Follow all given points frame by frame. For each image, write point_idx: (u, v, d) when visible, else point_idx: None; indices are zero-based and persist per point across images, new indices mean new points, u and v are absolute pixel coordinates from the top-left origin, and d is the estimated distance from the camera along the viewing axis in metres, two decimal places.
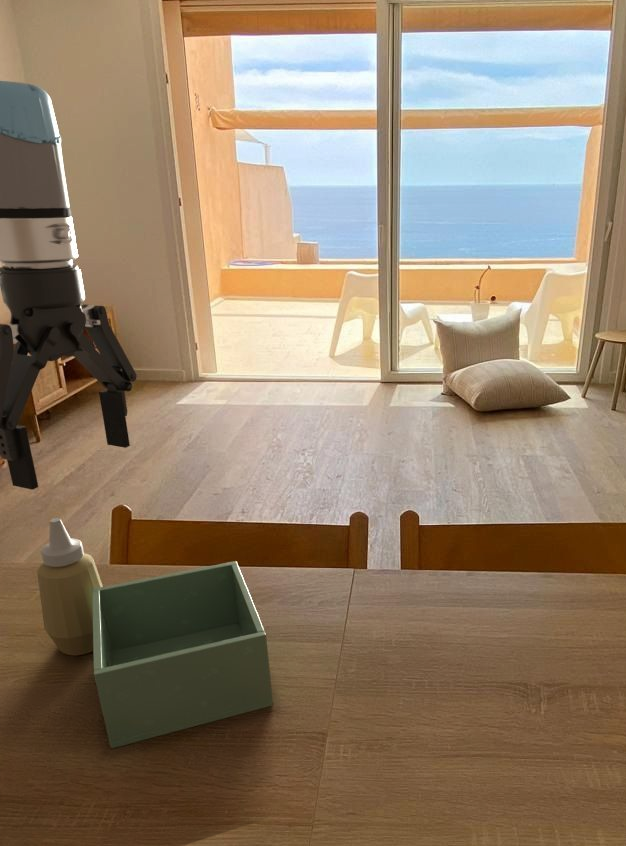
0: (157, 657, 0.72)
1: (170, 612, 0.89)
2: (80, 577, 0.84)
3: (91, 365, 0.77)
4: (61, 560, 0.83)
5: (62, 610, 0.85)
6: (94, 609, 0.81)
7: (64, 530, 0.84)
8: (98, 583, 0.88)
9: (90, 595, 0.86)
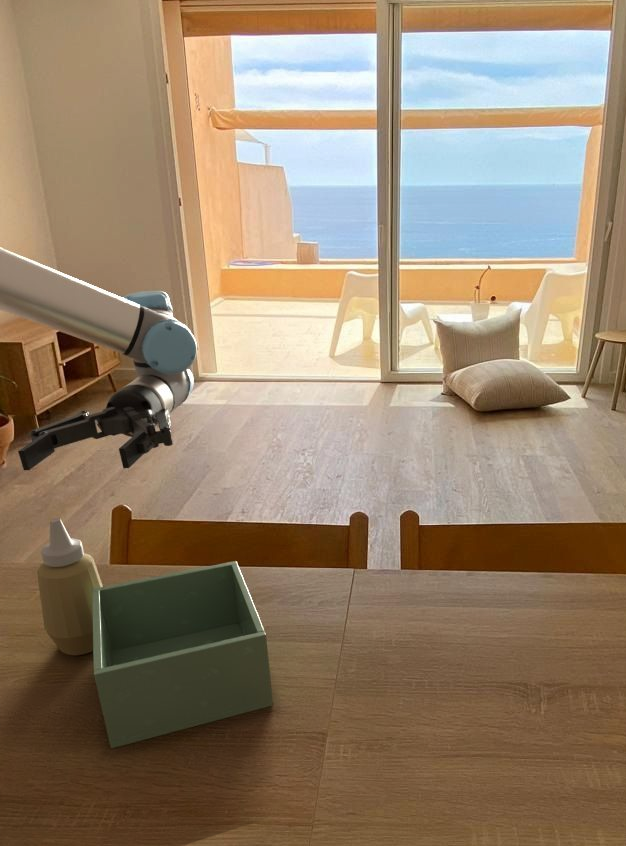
0: (157, 657, 0.72)
1: (170, 612, 0.89)
2: (80, 577, 0.84)
3: (79, 434, 0.99)
4: (61, 560, 0.83)
5: (62, 610, 0.85)
6: (94, 609, 0.81)
7: (64, 530, 0.84)
8: (98, 583, 0.88)
9: (90, 595, 0.86)
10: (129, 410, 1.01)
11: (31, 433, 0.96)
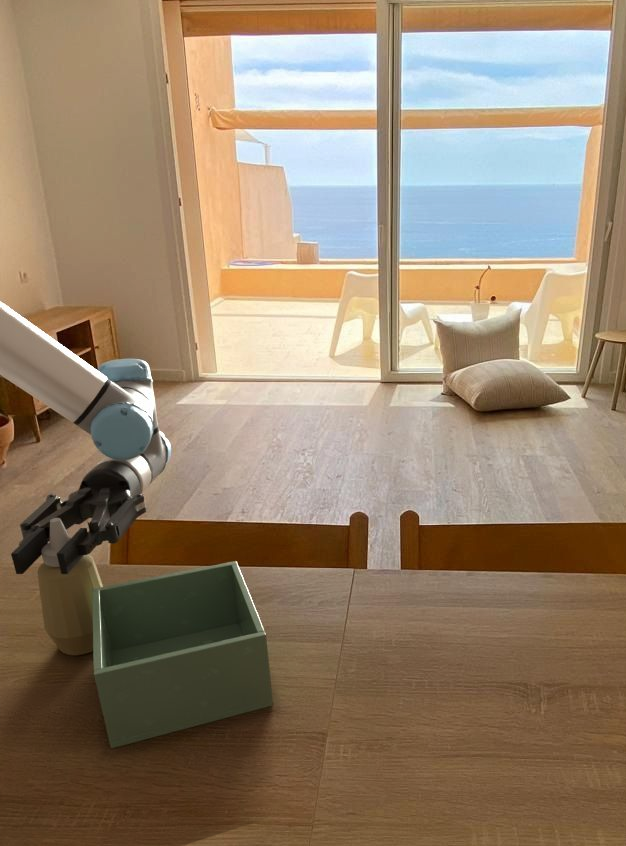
0: (157, 657, 0.72)
1: (170, 612, 0.89)
2: (80, 577, 0.84)
3: (66, 522, 0.90)
4: None
5: (63, 610, 0.85)
6: (94, 609, 0.81)
7: (65, 530, 0.84)
8: (98, 583, 0.88)
9: (90, 595, 0.86)
10: (103, 493, 0.94)
11: (24, 527, 0.86)
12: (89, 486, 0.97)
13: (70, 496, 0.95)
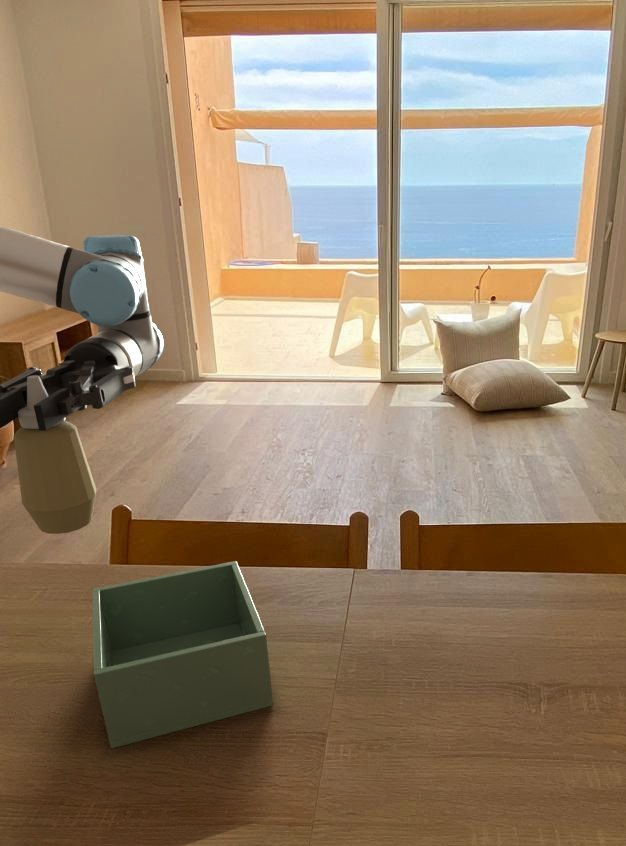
0: (157, 657, 0.72)
1: (170, 612, 0.89)
2: (61, 442, 0.77)
3: (47, 391, 0.82)
4: None
5: (41, 479, 0.77)
6: (94, 609, 0.81)
7: (44, 389, 0.76)
8: (81, 453, 0.80)
9: (72, 464, 0.78)
10: (88, 364, 0.86)
11: None
12: None
13: None
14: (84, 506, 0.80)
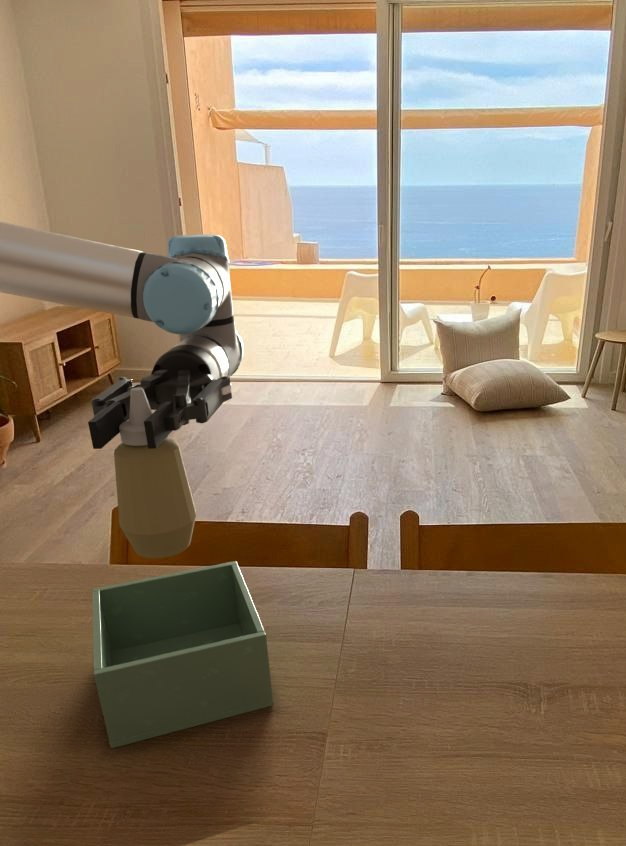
0: (157, 657, 0.72)
1: (170, 612, 0.89)
2: (166, 460, 0.70)
3: None
4: (144, 437, 0.69)
5: (145, 500, 0.70)
6: (94, 609, 0.81)
7: (147, 403, 0.70)
8: (184, 471, 0.73)
9: (176, 483, 0.72)
10: (183, 374, 0.79)
11: (96, 402, 0.72)
12: None
13: (143, 379, 0.81)
14: (186, 528, 0.74)
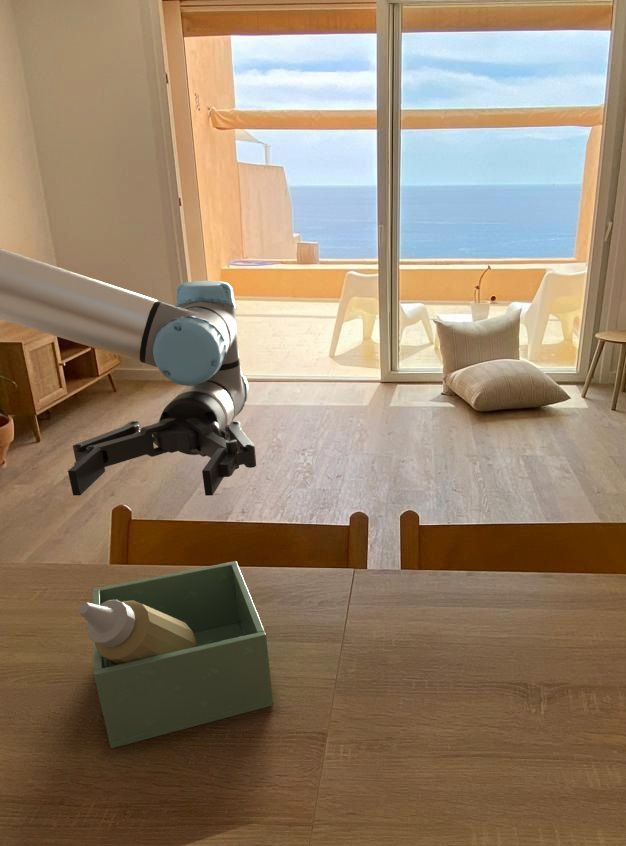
0: (157, 657, 0.72)
1: (170, 612, 0.89)
2: (144, 646, 0.72)
3: (133, 450, 0.80)
4: (114, 641, 0.70)
5: None
6: None
7: (100, 611, 0.69)
8: (165, 630, 0.75)
9: (164, 649, 0.74)
10: (194, 422, 0.82)
11: (75, 448, 0.76)
12: (171, 418, 0.85)
13: None
14: None
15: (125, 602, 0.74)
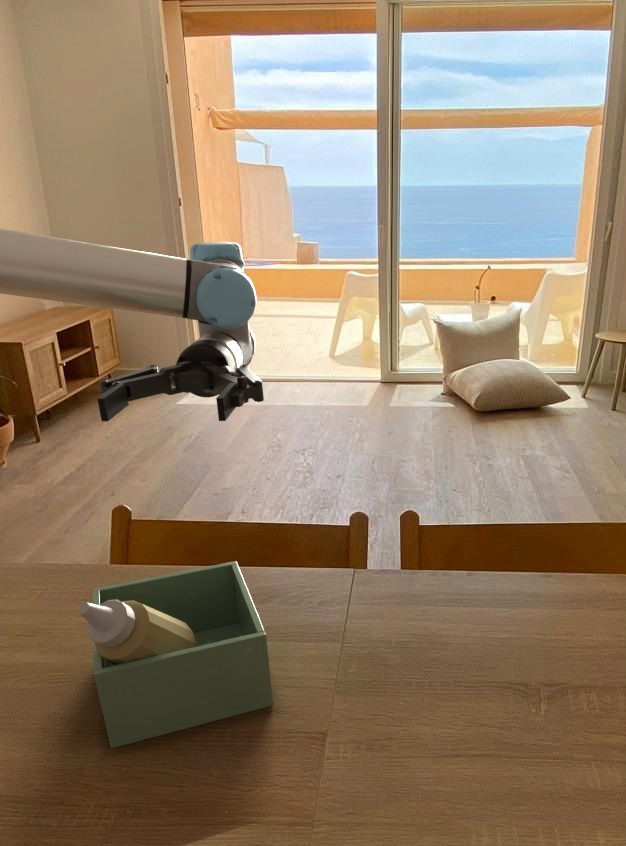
0: (157, 657, 0.72)
1: (170, 612, 0.89)
2: (144, 646, 0.72)
3: (153, 388, 0.88)
4: (114, 641, 0.70)
5: None
6: None
7: (100, 611, 0.69)
8: (165, 630, 0.75)
9: (164, 649, 0.74)
10: (208, 364, 0.91)
11: (102, 383, 0.85)
12: None
13: None
14: None
15: (125, 602, 0.74)
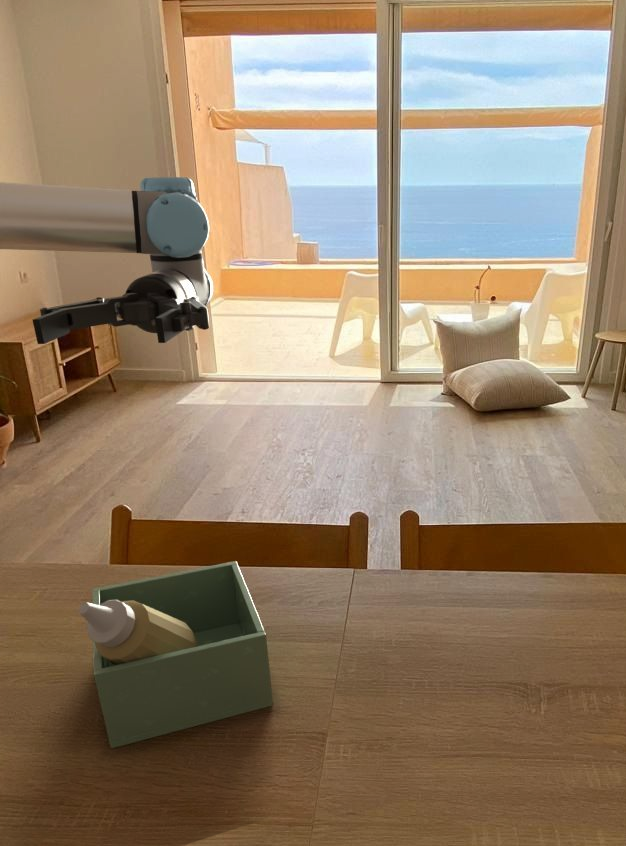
0: (157, 657, 0.72)
1: (170, 612, 0.89)
2: (144, 646, 0.72)
3: (97, 317, 0.86)
4: (114, 641, 0.70)
5: None
6: None
7: (100, 611, 0.69)
8: (165, 630, 0.75)
9: (164, 649, 0.74)
10: (154, 295, 0.88)
11: (42, 310, 0.83)
12: None
13: None
14: None
15: (125, 602, 0.74)
